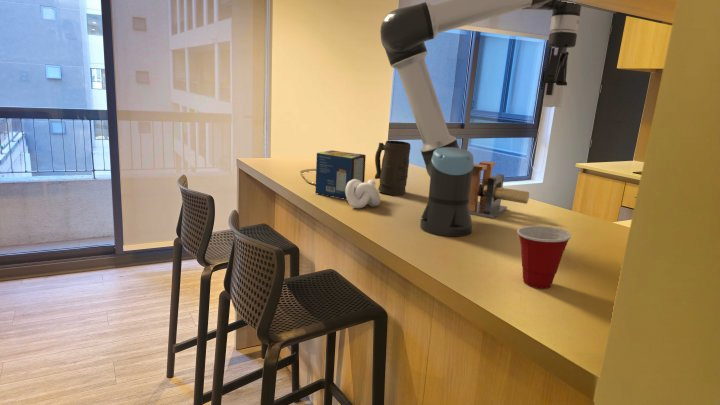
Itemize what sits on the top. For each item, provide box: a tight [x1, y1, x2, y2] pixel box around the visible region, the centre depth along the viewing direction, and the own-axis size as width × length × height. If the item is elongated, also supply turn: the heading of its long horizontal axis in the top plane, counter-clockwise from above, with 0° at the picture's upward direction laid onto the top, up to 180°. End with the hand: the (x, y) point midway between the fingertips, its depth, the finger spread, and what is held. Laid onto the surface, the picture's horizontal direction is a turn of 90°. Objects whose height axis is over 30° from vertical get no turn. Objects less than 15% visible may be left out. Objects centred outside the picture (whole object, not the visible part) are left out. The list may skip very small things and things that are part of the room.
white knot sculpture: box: [345, 178, 381, 209], centre depth 157 cm, size 11×12×9 cm
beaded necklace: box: [299, 168, 316, 186], centre depth 201 cm, size 19×35×2 cm, turn 16°
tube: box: [478, 183, 530, 205], centre depth 158 cm, size 4×24×4 cm, turn 58°
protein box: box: [315, 150, 367, 200], centre depth 171 cm, size 10×15×16 cm
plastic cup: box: [516, 225, 572, 290], centre depth 99 cm, size 11×11×12 cm
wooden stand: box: [469, 160, 508, 219], centre depth 160 cm, size 16×18×16 cm
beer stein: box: [374, 140, 412, 196], centre depth 180 cm, size 15×11×20 cm
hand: (552, 107), depth 139 cm, fingers open, 13 cm apart
